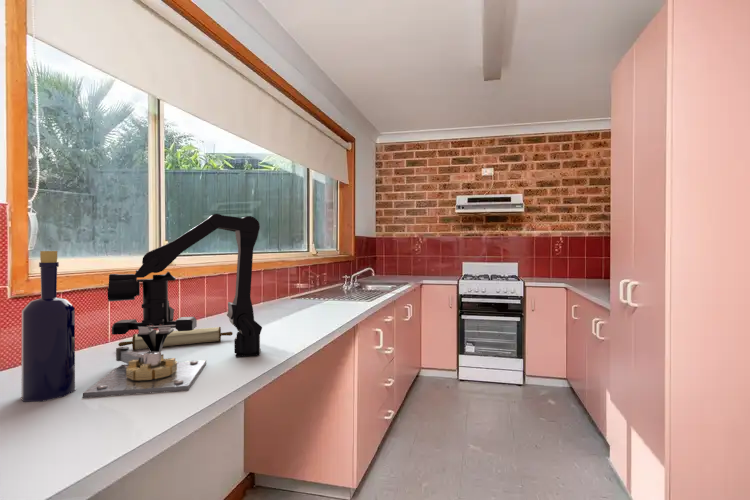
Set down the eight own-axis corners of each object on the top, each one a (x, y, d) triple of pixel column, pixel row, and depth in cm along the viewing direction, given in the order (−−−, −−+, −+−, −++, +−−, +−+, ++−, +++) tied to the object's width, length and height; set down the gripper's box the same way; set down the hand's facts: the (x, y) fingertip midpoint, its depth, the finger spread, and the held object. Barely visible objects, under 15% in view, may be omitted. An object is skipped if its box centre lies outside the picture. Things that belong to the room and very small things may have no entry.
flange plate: (206, 363, 105) (206, 341, 105) (188, 390, 85) (188, 362, 85) (122, 368, 101) (122, 345, 100) (82, 397, 81) (82, 368, 81)
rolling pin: (231, 339, 135) (231, 324, 135) (233, 342, 130) (233, 327, 130) (119, 349, 120) (119, 333, 120) (117, 354, 115) (117, 337, 115)
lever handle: (140, 356, 107) (140, 343, 107) (183, 371, 94) (183, 357, 94) (98, 365, 99) (98, 351, 99) (139, 383, 86) (139, 367, 86)
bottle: (86, 389, 86) (86, 251, 86) (38, 404, 77) (38, 251, 77) (57, 384, 89) (57, 250, 89) (8, 398, 80) (8, 251, 80)
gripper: (200, 293, 113) (201, 348, 113) (127, 296, 109) (128, 352, 109) (191, 298, 102) (192, 359, 102) (110, 301, 98) (111, 364, 98)
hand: (156, 358), depth 103 cm, fingers closed
